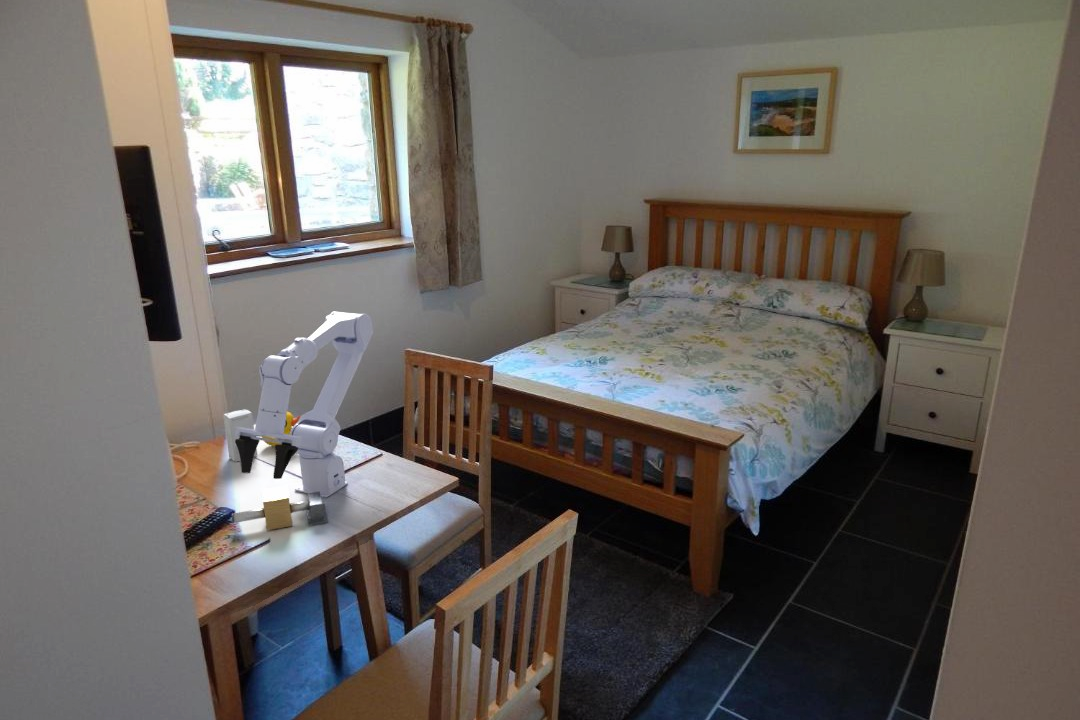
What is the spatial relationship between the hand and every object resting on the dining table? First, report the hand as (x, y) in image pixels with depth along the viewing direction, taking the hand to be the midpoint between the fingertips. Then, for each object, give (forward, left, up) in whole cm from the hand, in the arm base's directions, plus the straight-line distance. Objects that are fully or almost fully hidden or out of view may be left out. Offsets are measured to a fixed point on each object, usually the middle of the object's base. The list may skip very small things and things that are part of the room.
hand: (261, 475), depth 150 cm
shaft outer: (0, +3, -9) cm, 9 cm away
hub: (-3, 0, -11) cm, 11 cm away
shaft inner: (-6, -4, -9) cm, 11 cm away
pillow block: (-8, -6, -11) cm, 15 cm away
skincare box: (+31, -23, -11) cm, 40 cm away
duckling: (+26, -32, -11) cm, 43 cm away
